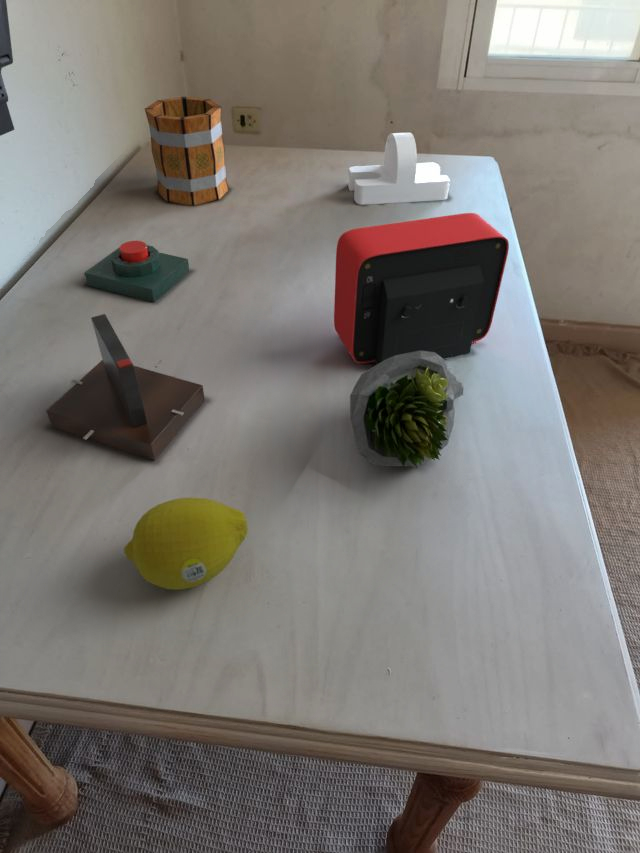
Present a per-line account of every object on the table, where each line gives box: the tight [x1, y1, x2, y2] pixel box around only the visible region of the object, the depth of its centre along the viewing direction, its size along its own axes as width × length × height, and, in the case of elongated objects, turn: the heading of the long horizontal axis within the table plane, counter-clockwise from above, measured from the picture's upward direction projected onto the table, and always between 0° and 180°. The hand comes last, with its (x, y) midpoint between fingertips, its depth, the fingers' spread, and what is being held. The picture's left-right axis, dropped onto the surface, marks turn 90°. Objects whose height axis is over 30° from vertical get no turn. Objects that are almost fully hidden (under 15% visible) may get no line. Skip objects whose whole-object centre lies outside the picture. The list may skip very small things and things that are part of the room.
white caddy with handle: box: [347, 132, 451, 206], centre depth 119 cm, size 10×18×11 cm, turn 99°
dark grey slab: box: [90, 313, 147, 427], centre depth 70 cm, size 11×2×8 cm, turn 29°
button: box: [118, 240, 149, 263], centre depth 94 cm, size 4×4×2 cm
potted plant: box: [349, 350, 464, 470], centre depth 66 cm, size 12×13×15 cm
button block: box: [83, 244, 190, 303], centre depth 96 cm, size 12×10×4 cm
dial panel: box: [45, 359, 206, 461], centre depth 74 cm, size 15×15×3 cm
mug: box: [144, 95, 230, 206], centre depth 119 cm, size 20×14×15 cm
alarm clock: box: [333, 212, 510, 365], centre depth 80 cm, size 10×20×16 cm, turn 108°
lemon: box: [124, 497, 248, 591], centre depth 56 cm, size 11×8×8 cm
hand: (1, 131), depth 74 cm, fingers closed
